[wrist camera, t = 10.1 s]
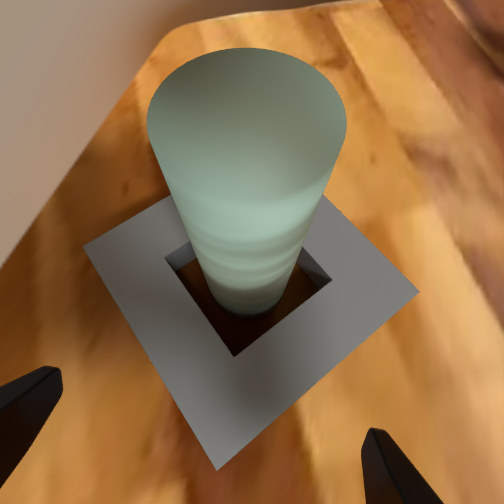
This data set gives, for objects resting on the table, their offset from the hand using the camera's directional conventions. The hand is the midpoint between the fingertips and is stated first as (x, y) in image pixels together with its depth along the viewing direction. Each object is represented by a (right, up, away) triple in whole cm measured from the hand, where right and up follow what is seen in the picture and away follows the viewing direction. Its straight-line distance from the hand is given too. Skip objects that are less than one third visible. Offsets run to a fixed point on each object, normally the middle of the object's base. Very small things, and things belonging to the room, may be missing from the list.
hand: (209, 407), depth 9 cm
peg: (+1, +2, +10) cm, 10 cm away
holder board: (+1, +3, +10) cm, 10 cm away
